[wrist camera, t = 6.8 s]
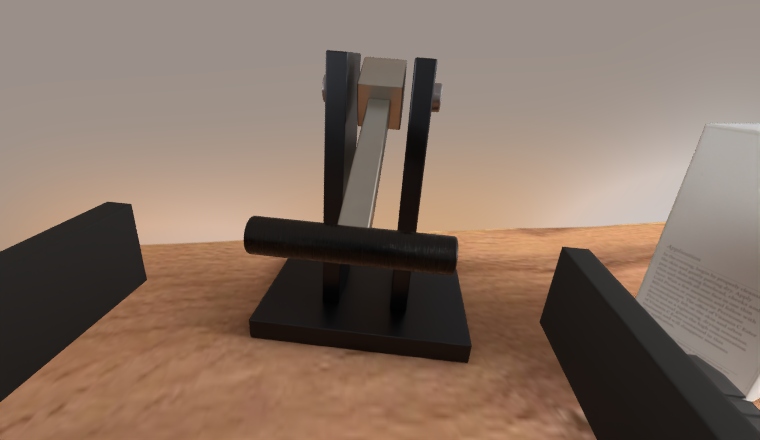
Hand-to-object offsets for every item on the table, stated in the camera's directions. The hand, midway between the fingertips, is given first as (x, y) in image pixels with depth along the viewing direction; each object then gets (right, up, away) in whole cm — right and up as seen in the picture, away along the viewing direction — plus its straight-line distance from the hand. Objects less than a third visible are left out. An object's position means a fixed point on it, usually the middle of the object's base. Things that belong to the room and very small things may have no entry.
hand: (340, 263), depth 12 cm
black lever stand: (0, -4, +13) cm, 13 cm away
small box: (+21, -7, +11) cm, 25 cm away
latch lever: (+1, +4, +5) cm, 7 cm away
